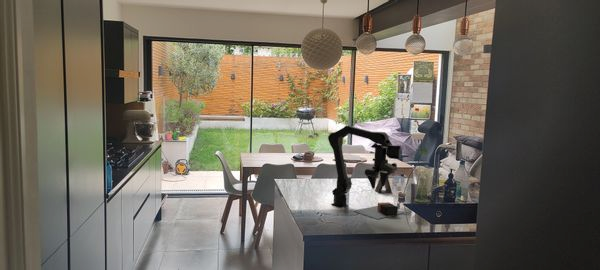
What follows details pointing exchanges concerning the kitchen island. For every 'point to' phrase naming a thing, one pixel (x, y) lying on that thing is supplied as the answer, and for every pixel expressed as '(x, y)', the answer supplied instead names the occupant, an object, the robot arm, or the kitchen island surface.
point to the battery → (387, 209)
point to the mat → (373, 212)
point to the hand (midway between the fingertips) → (378, 187)
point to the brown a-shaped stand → (379, 187)
